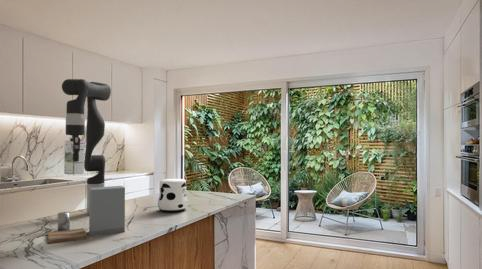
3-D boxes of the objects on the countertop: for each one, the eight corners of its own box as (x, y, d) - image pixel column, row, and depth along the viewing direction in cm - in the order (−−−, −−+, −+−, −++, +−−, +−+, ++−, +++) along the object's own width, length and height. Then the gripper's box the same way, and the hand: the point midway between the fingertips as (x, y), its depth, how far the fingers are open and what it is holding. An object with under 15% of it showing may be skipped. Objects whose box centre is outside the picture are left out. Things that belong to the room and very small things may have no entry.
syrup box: (84, 173, 146) (85, 140, 146) (73, 174, 140) (74, 140, 141) (74, 173, 148) (75, 140, 148) (63, 174, 142) (64, 140, 142)
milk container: (193, 209, 199) (193, 179, 200) (173, 214, 185) (173, 182, 185) (172, 206, 208) (172, 178, 209) (151, 211, 194) (151, 180, 194)
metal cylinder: (57, 229, 154) (57, 212, 154) (69, 228, 156) (69, 211, 156) (57, 232, 149) (57, 214, 150) (69, 230, 152) (70, 213, 152)
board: (48, 235, 145) (48, 232, 145) (83, 230, 152) (83, 228, 152) (48, 243, 132) (48, 240, 132) (86, 238, 139) (86, 235, 139)
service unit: (89, 231, 150) (89, 187, 151) (121, 227, 158) (121, 185, 158) (91, 236, 143) (91, 190, 143) (124, 231, 150) (124, 187, 150)
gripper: (86, 123, 141) (86, 161, 140) (82, 125, 153) (82, 160, 152) (66, 123, 137) (66, 162, 136) (64, 125, 149) (64, 160, 148)
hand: (74, 161), depth 144 cm, fingers closed on syrup box, 8 cm apart
